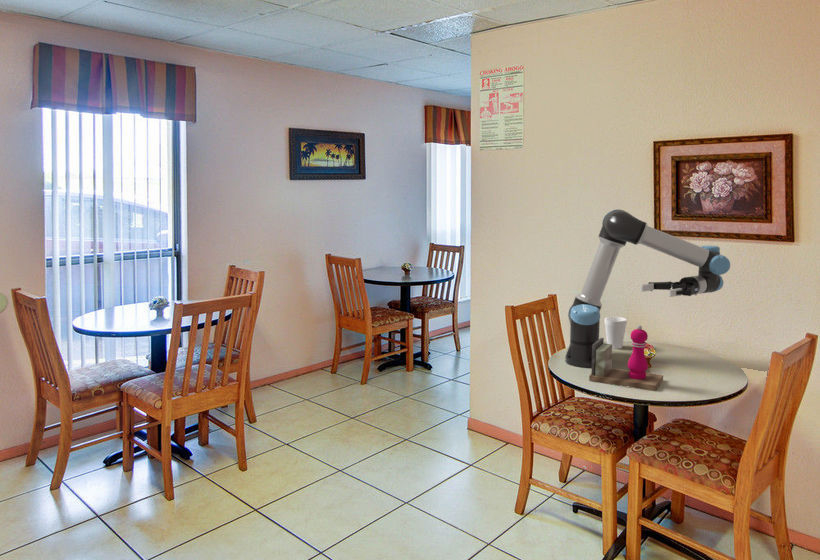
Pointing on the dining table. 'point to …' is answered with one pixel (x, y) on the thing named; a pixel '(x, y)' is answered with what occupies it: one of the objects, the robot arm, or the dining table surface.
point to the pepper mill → (638, 354)
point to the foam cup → (615, 331)
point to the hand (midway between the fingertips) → (655, 290)
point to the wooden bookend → (617, 370)
